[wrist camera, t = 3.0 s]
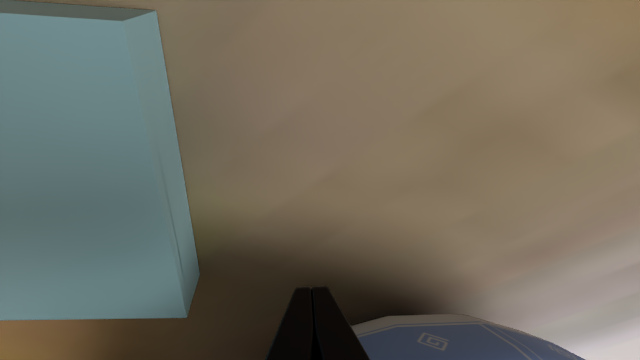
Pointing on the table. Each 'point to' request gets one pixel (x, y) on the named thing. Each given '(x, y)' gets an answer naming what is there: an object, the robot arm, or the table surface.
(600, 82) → the table surface
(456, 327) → the ramen bowl
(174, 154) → the light blue slab
